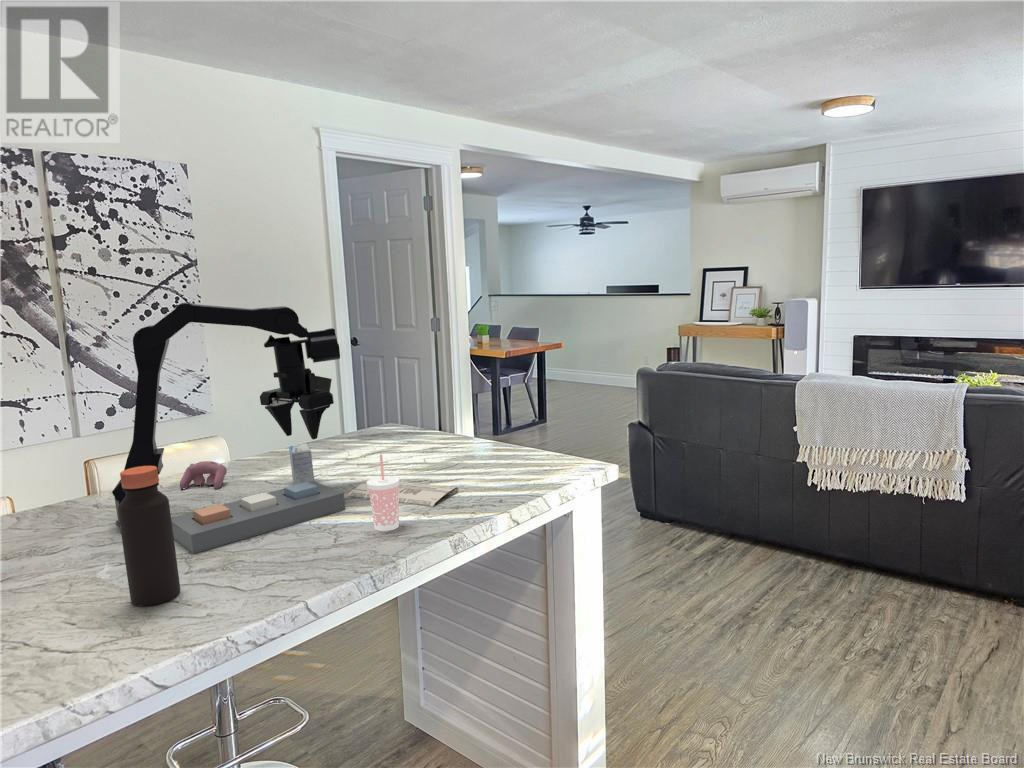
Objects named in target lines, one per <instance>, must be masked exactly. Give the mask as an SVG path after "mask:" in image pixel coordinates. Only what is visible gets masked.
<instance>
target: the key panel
mask: <svg viewBox="0 0 1024 768" xmlns="http://www.w3.org/2000/svg"><path fill="white" fill-rule="evenodd" d="M309 483H311V484H314V485H316V486H318V492H319V494H316V495H313V496H309V497H305V498H301V499H298V500H293V499H291V498H289V497H286V496H285V492H284V488H281V489H278V490H274V491H270V492H267V493H268V494H270V495H272V496H274V497H276V503H277V505H276V506H272V507H268V508H264V509H261V510H257V511H253V512H249V511H247V510H245V509H243V508H242V507H241V499H239V500H235V501H231V502H227V503H224V504H222V505H223V506H225V507H227V508H229V509H230V514H231V518H227V519H224V520H220V521H216V522H213V523H209V524H205V525H201V524H199V523H197V522H196V521H194V515H193V511H192V512H187V513H185V514H184V513H183V514H179V515H177V516H176V515H175V516H171V521H172V529H173V536H174V541H175V540H176V541H175V542H177V543H178V544H179V543H180V544H179V545H181V546H182V547H184V548H185V549H186V550H188V551H189V552H191V554H193V555H194V554H198V553H201V552H204V551H208V550H211V549H215V548H218V547H219V548H220V547H222V546H225V544H226V545H228V543H229V544H232V543H236V542H238V541H242V540H245V539H249V538H252V537H255V536H259V535H262V534H265V533H269V532H272V531H275V530H280V529H283V528H286V527H290V526H293V525H296V524H300V523H303V522H307V521H309V520H313V519H316V518H320V517H323V516H326V515H330V514H333V513H337V512H339V511H344V510H346V504H345V495H344V492H343V491H340V490H337V489H334V488H332V487H329V486H327V485H325V484H322V483H319V482H316V481H315V480H314V481H312V482H309ZM231 542H232V543H231Z"/></svg>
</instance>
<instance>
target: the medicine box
mask: <svg viewBox="0 0 1024 768" xmlns="http://www.w3.org/2000/svg"><path fill="white" fill-rule="evenodd" d="M288 448H289V459H290V466H291V467H290V468H291V469H290V470H291V476H292V478H291V479H292V481H293V485H296V484H300V483H303V482H312V481H314V482H315V473H314V466H313V457H312V456H313V455H312V450H311V449H310V446H309V444H308V443H303V444H294V445H290V446H289V447H288Z"/></svg>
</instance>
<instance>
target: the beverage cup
mask: <svg viewBox="0 0 1024 768" xmlns="http://www.w3.org/2000/svg"><path fill="white" fill-rule="evenodd" d="M379 462H380V463H379V465H380V474H381V476H378V477H372V478H370V479H368V480H366V482H367V488H369V494H370V500H369V501H370V507H371V514H372V521H373V527H374V530H375V531H379V532H389V531H392V530H396V529H397V528H399V526H400V521H399V519H400V518H399V517H400V512H399V509H400V508H399V506H400V505H399V504H400V503H399V501H398V485H399V484H400V483H399V482H400V478H399V477H398V476H392V475H385V473H384V460H383V454H379Z"/></svg>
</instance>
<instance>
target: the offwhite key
mask: <svg viewBox="0 0 1024 768" xmlns="http://www.w3.org/2000/svg"><path fill="white" fill-rule="evenodd" d="M268 493H269V492H266V491H264V492H261V493H257V494H253V495H248V496H246V497H242V498H240V500H241V507H242V508H243V509H245V510H247V511H249V512H253V511H257V510H261V509H264V508H268V507H272V506H276V505H277V503H276V497H274V496H272V495H270V494H268Z"/></svg>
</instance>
